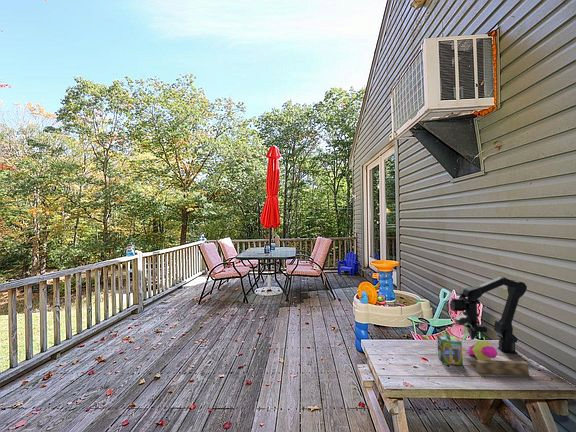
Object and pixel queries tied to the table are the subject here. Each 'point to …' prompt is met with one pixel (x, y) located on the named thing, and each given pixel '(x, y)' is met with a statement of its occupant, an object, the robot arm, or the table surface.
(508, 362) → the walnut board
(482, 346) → the toy
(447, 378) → the table surface
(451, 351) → the chalk box
